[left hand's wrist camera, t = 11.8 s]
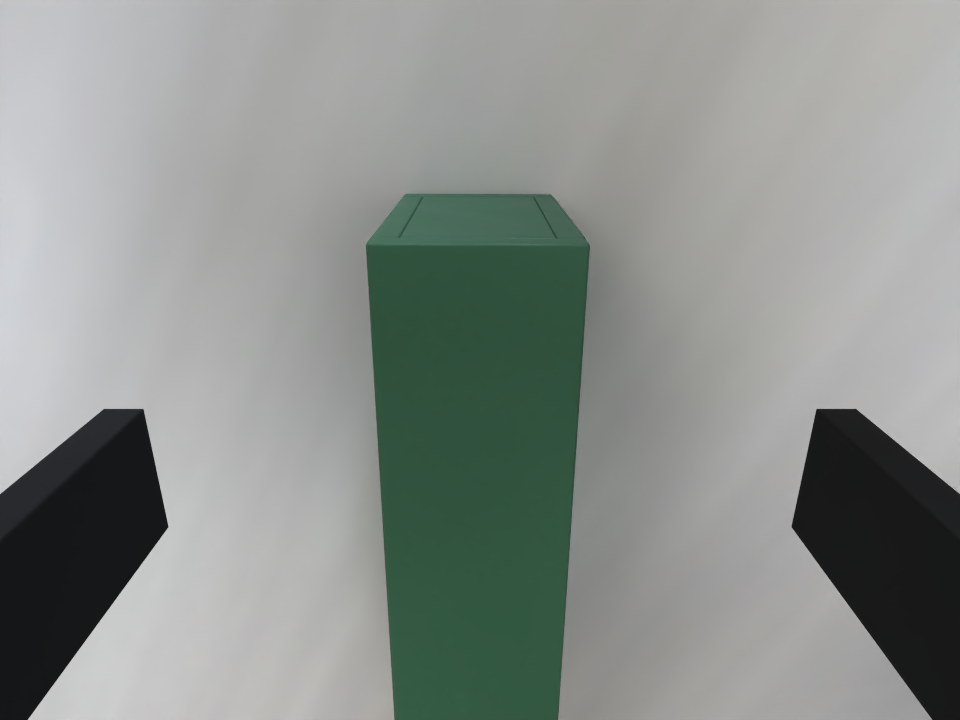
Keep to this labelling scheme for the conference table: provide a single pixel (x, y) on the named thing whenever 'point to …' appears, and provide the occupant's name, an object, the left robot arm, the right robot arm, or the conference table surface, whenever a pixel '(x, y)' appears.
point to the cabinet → (477, 447)
